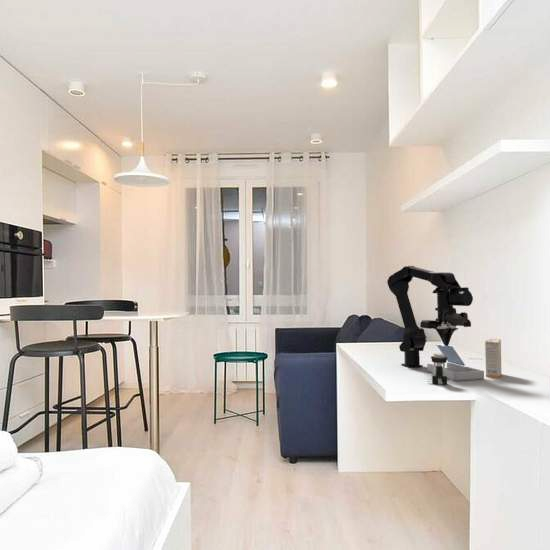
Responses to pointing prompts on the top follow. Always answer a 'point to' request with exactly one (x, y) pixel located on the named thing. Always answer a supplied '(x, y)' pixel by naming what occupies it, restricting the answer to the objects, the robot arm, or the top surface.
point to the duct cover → (450, 354)
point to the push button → (439, 369)
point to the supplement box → (493, 358)
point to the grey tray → (459, 372)
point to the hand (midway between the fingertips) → (446, 346)
